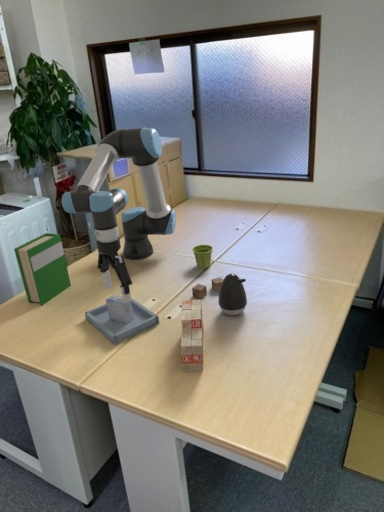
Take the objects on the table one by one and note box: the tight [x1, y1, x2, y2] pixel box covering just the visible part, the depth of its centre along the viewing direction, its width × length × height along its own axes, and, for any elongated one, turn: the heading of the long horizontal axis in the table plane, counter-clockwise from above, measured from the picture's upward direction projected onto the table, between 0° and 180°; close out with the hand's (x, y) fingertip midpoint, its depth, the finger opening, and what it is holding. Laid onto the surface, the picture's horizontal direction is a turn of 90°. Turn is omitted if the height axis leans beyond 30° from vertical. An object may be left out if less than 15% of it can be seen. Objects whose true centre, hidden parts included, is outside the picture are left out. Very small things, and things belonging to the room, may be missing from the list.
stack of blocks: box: [180, 299, 204, 373], centre depth 126 cm, size 21×6×12 cm, turn 179°
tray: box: [84, 297, 160, 345], centre depth 146 cm, size 22×18×3 cm
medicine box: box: [105, 294, 134, 323], centre depth 144 cm, size 8×4×9 cm, turn 64°
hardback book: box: [13, 232, 72, 307], centre depth 166 cm, size 18×7×24 cm, turn 156°
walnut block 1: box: [191, 283, 208, 300], centre depth 159 cm, size 4×4×4 cm
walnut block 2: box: [210, 276, 224, 292], centre depth 163 cm, size 4×4×4 cm
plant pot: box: [191, 244, 214, 269], centre depth 183 cm, size 9×9×9 cm
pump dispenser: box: [218, 273, 248, 316], centre depth 144 cm, size 10×10×15 cm
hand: (117, 294), depth 142 cm, fingers open, 13 cm apart
